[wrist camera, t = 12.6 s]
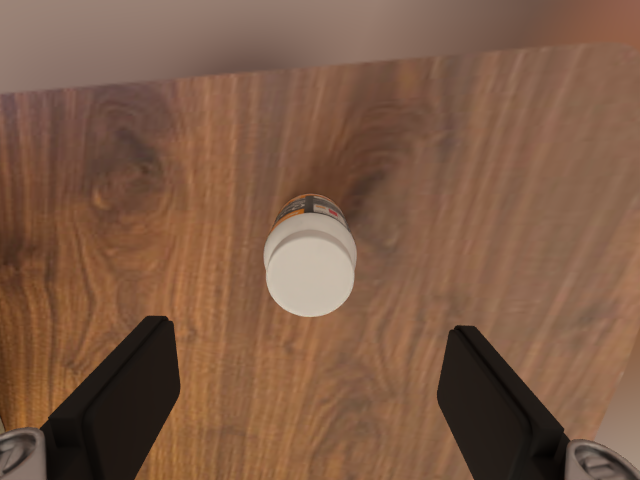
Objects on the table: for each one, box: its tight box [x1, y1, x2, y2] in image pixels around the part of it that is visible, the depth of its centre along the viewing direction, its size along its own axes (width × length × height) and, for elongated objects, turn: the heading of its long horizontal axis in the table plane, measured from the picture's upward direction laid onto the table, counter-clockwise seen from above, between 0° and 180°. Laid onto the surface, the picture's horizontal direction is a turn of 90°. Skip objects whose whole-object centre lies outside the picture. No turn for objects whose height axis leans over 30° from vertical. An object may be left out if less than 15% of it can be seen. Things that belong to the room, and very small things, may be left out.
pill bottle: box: [264, 194, 357, 317], centre depth 21 cm, size 6×6×10 cm
